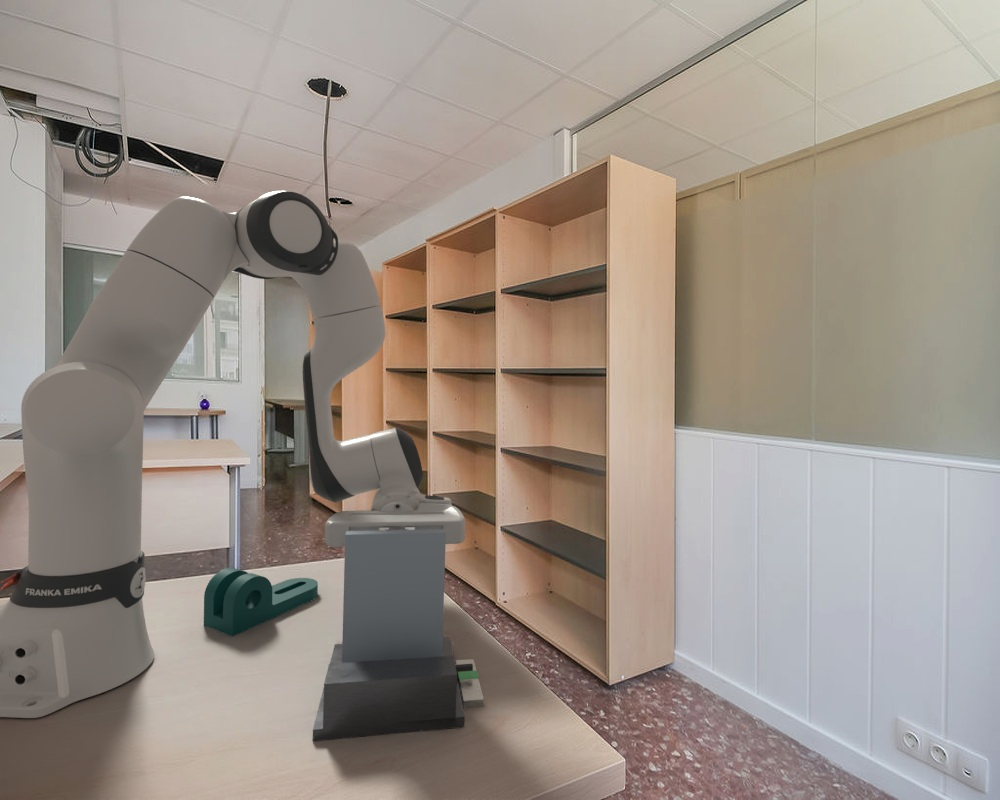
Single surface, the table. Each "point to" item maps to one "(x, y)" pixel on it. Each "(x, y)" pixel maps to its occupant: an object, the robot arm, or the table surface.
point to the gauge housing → (395, 695)
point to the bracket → (251, 599)
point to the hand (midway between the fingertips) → (396, 543)
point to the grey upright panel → (394, 595)
